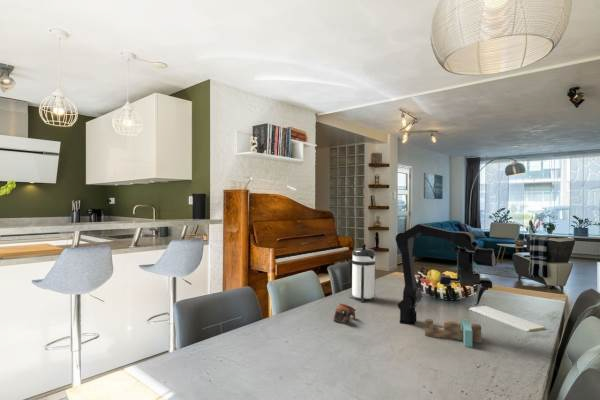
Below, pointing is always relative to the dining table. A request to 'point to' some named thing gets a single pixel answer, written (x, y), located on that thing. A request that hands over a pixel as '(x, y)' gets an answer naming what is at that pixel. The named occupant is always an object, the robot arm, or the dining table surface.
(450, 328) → the walnut slotted board
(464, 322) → the teal notched plate
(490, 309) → the baseboard molding
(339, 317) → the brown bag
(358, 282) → the coffee press
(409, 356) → the dining table surface
